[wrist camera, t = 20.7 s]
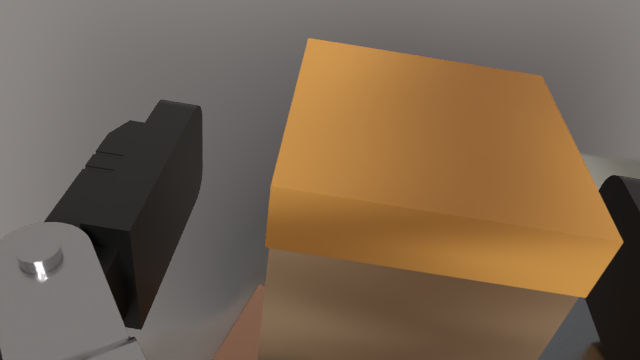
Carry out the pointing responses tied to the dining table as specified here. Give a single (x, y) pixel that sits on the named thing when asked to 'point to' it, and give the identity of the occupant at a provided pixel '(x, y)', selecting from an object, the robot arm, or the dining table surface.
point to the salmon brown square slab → (244, 331)
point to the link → (425, 213)
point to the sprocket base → (575, 337)
